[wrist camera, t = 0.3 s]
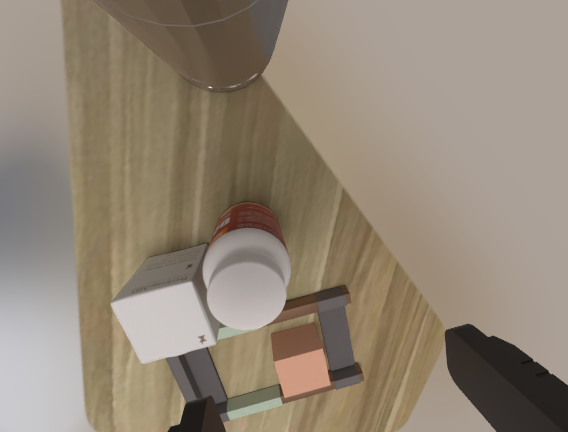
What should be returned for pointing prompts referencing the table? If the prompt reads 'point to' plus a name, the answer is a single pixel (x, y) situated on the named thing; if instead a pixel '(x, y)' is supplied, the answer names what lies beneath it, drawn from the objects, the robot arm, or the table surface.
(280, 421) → the table surface
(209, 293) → the pill bottle
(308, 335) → the terracotta block
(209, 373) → the frame
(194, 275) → the product box
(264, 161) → the table surface
